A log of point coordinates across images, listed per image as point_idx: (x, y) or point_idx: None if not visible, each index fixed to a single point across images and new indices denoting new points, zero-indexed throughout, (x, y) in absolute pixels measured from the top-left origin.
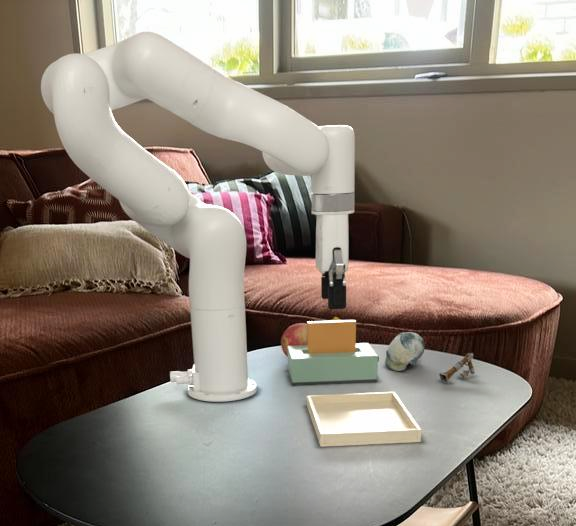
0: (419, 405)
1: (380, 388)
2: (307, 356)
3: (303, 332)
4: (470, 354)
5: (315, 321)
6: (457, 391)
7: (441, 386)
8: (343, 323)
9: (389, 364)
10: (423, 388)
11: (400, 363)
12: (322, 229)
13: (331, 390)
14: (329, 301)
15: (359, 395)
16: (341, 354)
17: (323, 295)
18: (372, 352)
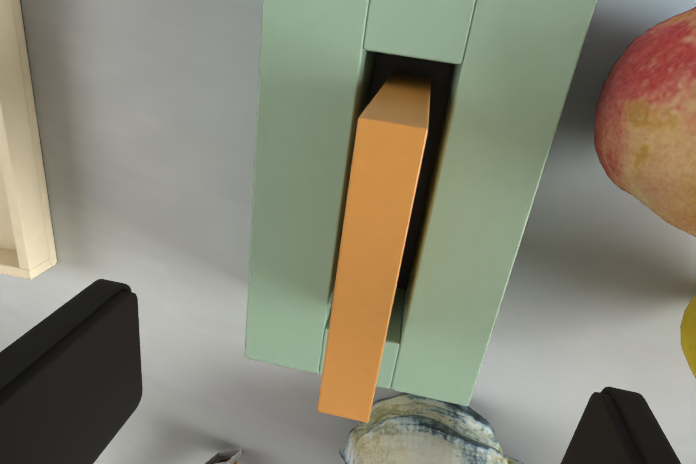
0: (38, 313)
1: (205, 281)
2: (297, 57)
3: (684, 142)
4: None
5: (404, 190)
6: (150, 439)
7: (199, 429)
8: (328, 344)
9: (417, 401)
10: (187, 385)
11: (372, 425)
12: None
13: (207, 117)
14: (58, 318)
15: (3, 164)
16: (296, 234)
17: (602, 416)
18: (297, 359)
